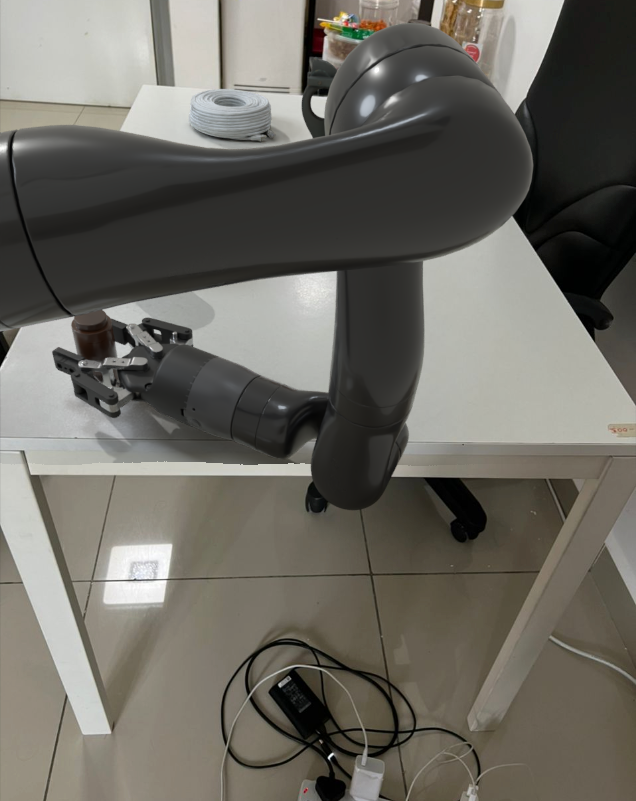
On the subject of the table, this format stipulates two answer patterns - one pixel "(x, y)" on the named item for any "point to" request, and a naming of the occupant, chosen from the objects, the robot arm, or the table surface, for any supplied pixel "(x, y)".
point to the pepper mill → (94, 337)
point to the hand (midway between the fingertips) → (78, 340)
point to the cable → (231, 114)
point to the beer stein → (316, 80)
